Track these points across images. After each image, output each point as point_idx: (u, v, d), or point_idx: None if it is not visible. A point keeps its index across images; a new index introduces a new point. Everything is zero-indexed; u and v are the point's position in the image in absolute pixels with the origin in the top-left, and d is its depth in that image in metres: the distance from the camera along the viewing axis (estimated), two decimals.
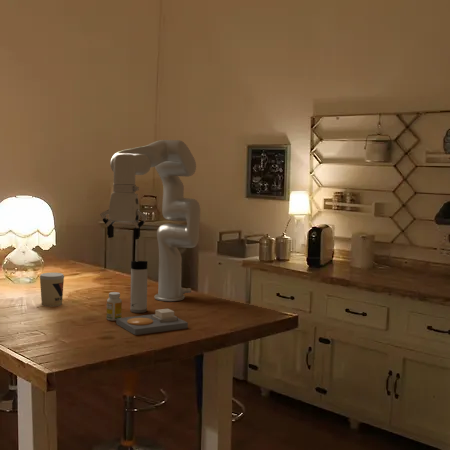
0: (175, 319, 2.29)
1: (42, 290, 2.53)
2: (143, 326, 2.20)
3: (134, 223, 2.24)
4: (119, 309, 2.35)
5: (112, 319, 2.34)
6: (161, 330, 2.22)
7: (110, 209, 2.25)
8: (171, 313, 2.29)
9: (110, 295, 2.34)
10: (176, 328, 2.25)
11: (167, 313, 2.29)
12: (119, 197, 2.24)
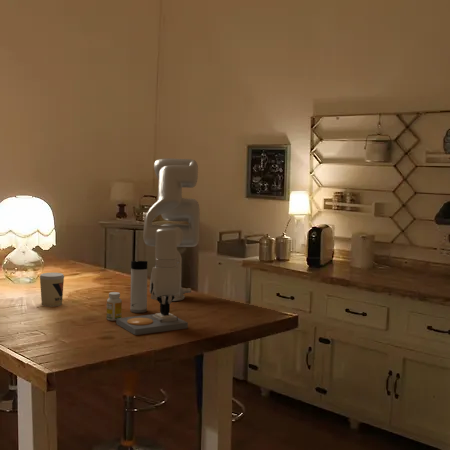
0: (175, 319, 2.29)
1: (42, 290, 2.53)
2: (143, 326, 2.20)
3: (170, 298, 2.30)
4: (119, 309, 2.35)
5: (112, 319, 2.34)
6: (161, 330, 2.22)
7: (157, 285, 2.25)
8: (171, 317, 2.29)
9: (110, 295, 2.34)
10: (176, 328, 2.25)
11: (167, 317, 2.29)
12: (167, 271, 2.27)
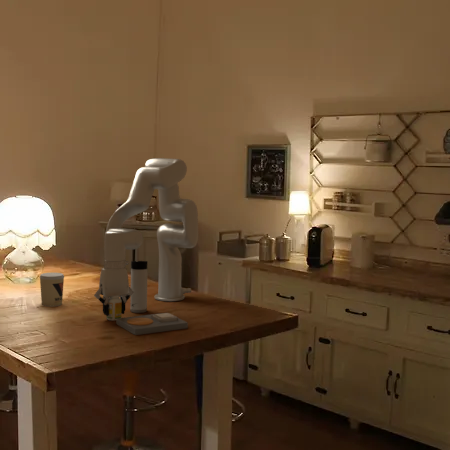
0: (175, 319, 2.29)
1: (42, 290, 2.53)
2: (143, 326, 2.20)
3: (124, 298, 2.37)
4: (119, 309, 2.35)
5: (112, 319, 2.34)
6: (161, 330, 2.22)
7: (105, 286, 2.32)
8: (171, 317, 2.30)
9: None
10: (176, 328, 2.25)
11: (167, 317, 2.29)
12: (115, 273, 2.33)
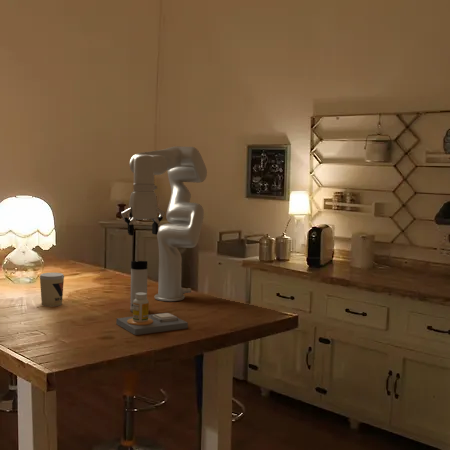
0: (175, 319, 2.29)
1: (42, 290, 2.53)
2: (143, 326, 2.20)
3: (156, 219, 2.43)
4: (146, 310, 2.24)
5: (139, 321, 2.24)
6: (161, 330, 2.22)
7: (135, 208, 2.37)
8: (171, 317, 2.30)
9: (137, 295, 2.24)
10: (176, 328, 2.25)
11: (167, 317, 2.29)
12: (144, 196, 2.38)
